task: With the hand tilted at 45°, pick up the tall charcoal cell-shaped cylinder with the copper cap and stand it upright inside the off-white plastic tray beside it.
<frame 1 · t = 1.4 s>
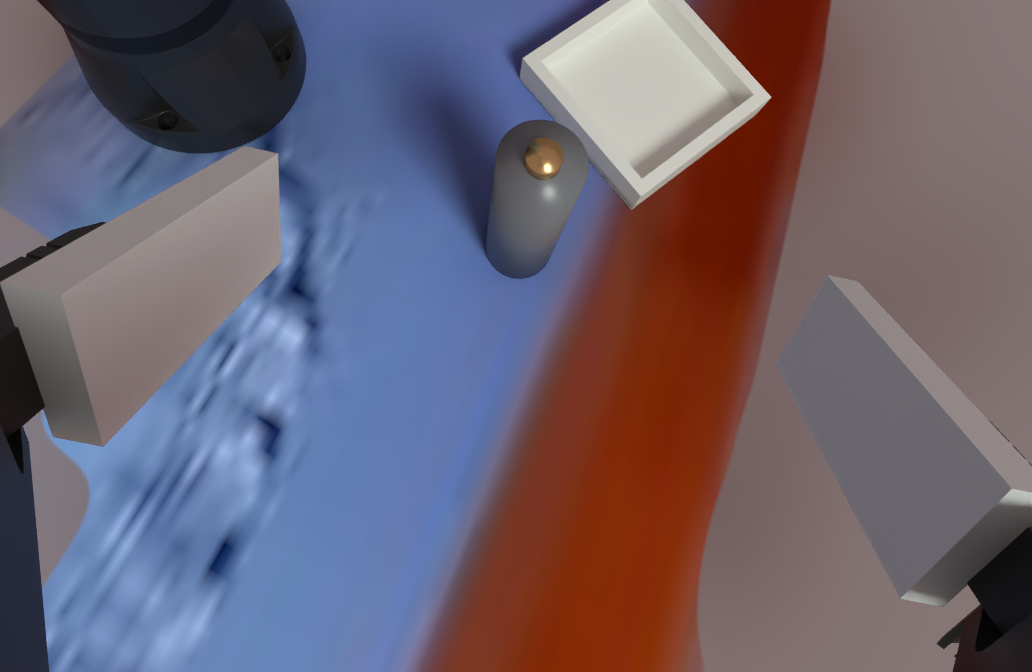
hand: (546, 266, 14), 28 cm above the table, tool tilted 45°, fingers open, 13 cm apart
tray: (639, 97, 46), on the table
charcoal cell: (518, 246, 43), on the table
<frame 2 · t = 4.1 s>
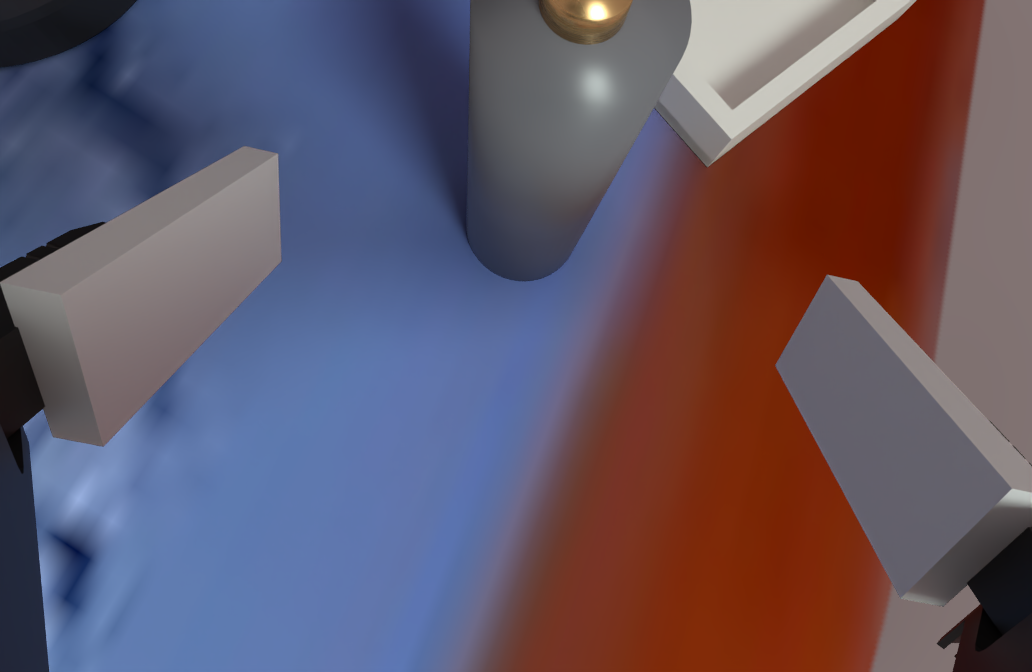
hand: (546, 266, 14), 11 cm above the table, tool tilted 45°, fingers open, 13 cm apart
charcoal cell: (522, 227, 25), on the table
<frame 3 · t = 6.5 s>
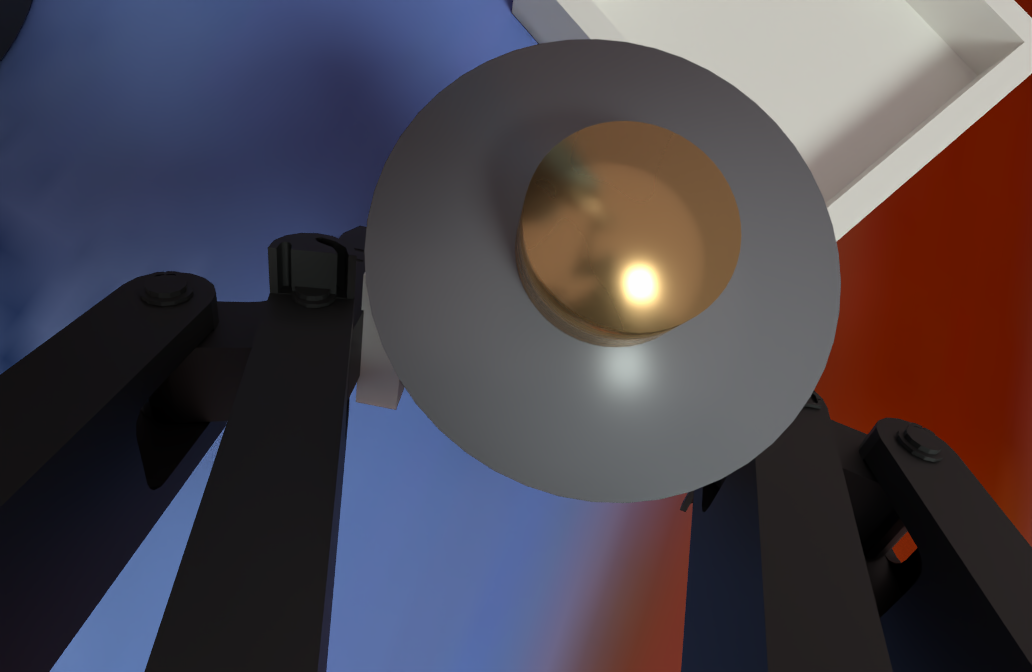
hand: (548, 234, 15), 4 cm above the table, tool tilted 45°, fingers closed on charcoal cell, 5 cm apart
tray: (762, 52, 22), on the table
charcoal cell: (509, 385, 19), on the table, touching gripper
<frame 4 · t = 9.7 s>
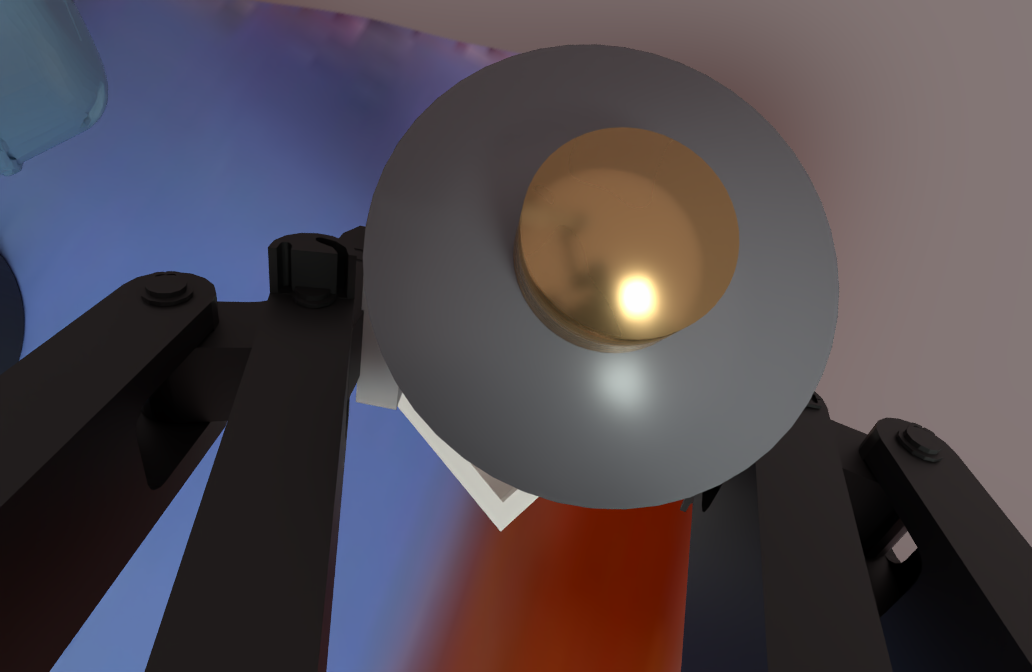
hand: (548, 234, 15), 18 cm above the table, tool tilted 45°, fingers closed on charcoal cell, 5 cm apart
tray: (511, 347, 33), on the table
charcoal cell: (508, 387, 19), point 14 cm above the table, touching gripper
when the fingers open (6 cm above the table, at t = 13.2 s): charcoal cell drops 1 cm, resting on tray.
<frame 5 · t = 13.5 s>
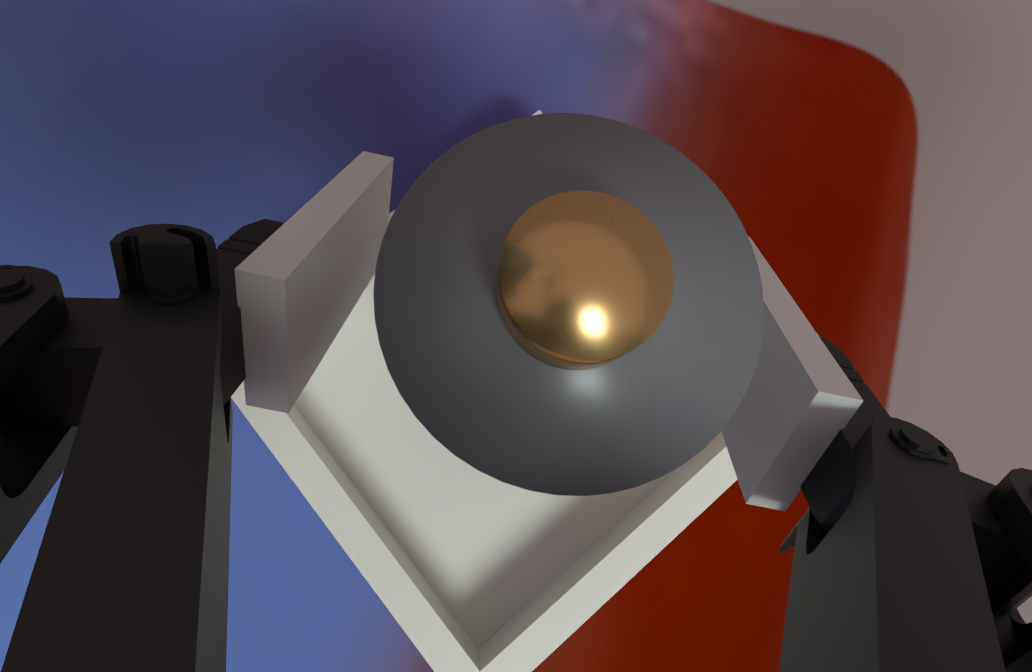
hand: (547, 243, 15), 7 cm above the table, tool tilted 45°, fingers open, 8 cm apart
tray: (504, 391, 21), on the table
charcoal cell: (504, 391, 20), point 1 cm above the table, touching tray
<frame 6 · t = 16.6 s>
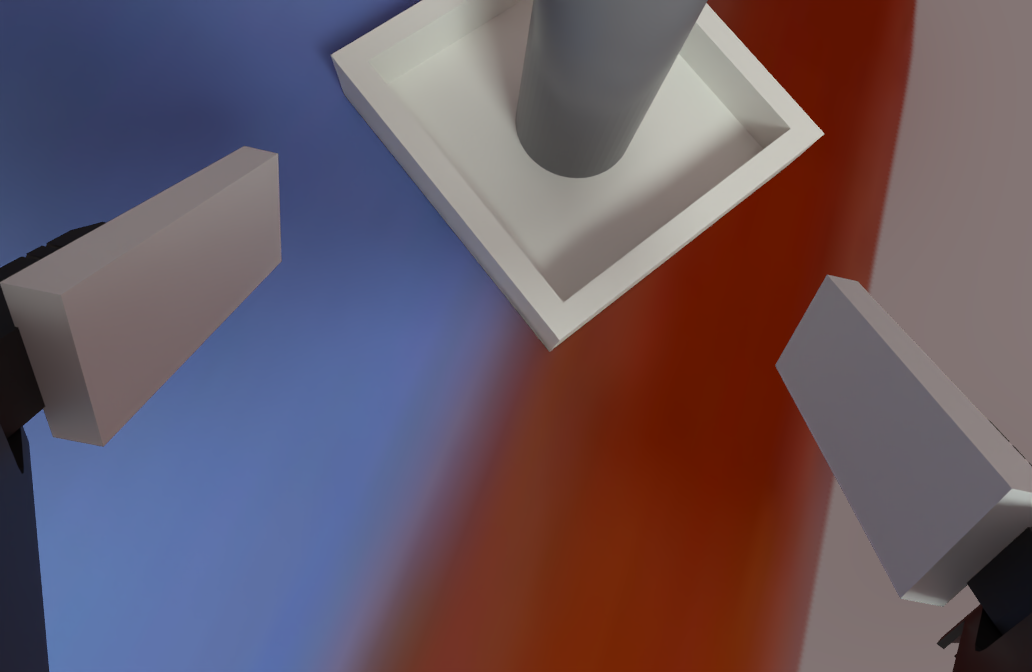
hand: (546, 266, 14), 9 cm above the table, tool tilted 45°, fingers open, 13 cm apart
tray: (572, 130, 25), on the table
charcoal cell: (573, 123, 24), point 1 cm above the table, touching tray
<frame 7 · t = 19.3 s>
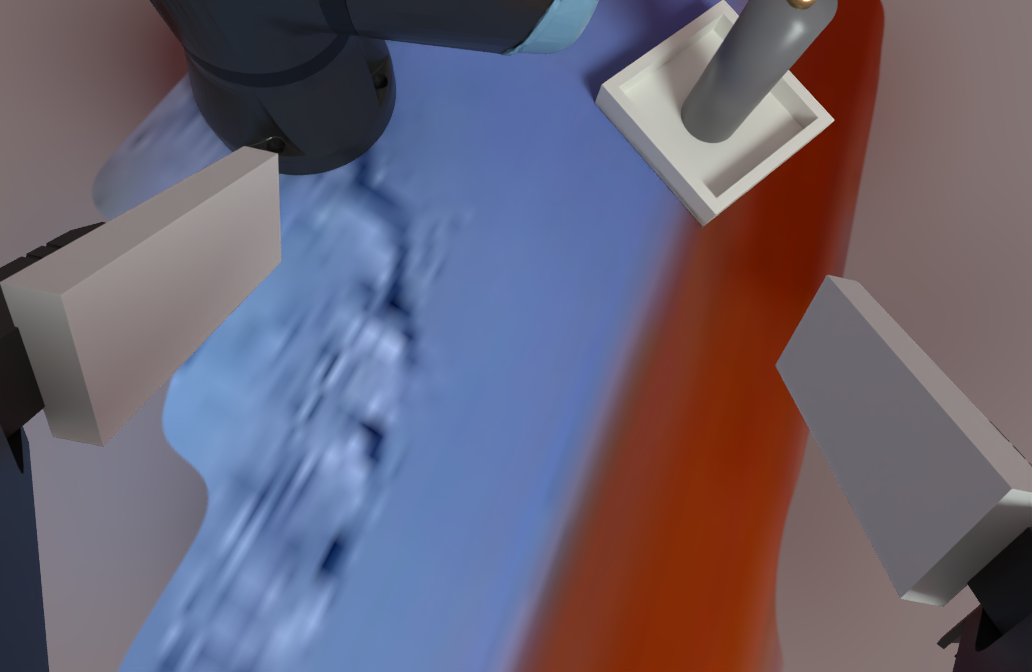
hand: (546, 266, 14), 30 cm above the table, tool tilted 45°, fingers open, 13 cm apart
tray: (707, 119, 49), on the table
charcoal cell: (709, 116, 48), point 1 cm above the table, touching tray
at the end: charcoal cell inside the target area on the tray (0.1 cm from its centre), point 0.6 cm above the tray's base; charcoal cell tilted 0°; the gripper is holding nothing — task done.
